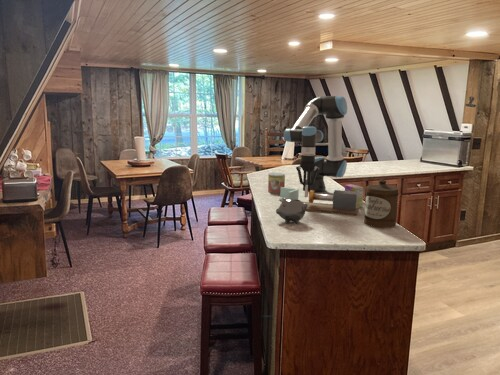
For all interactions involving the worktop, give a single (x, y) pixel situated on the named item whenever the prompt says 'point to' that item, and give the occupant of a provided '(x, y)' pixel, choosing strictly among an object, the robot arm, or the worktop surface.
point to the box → (359, 193)
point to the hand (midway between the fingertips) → (306, 196)
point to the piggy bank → (291, 210)
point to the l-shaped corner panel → (288, 193)
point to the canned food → (276, 182)
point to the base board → (328, 209)
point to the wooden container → (381, 205)
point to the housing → (344, 200)
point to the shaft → (319, 197)
